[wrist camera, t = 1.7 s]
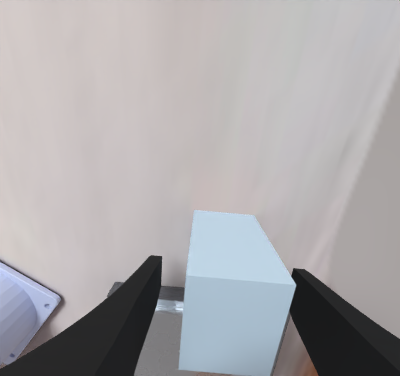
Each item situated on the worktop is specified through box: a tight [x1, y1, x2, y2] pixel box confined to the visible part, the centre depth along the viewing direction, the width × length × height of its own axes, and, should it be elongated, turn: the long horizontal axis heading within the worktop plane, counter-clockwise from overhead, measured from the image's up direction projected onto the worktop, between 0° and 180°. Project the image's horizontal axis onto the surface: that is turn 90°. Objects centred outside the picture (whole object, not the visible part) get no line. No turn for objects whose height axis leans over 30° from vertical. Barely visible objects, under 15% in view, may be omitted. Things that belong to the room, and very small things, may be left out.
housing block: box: [178, 210, 296, 376], centre depth 10 cm, size 5×4×6 cm
